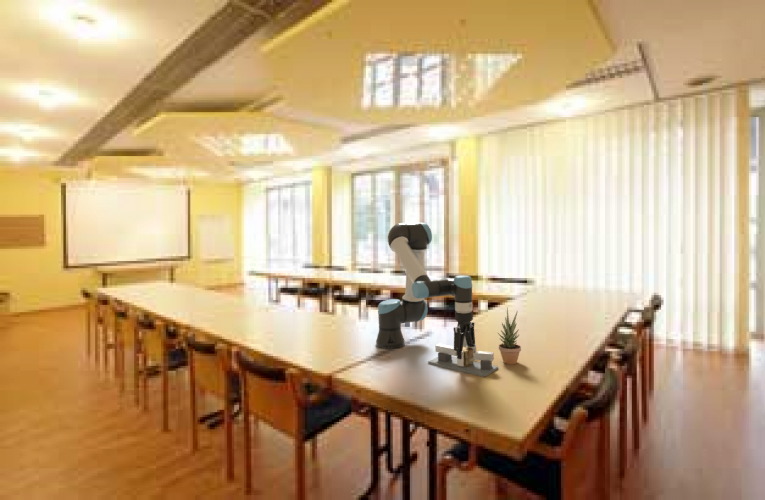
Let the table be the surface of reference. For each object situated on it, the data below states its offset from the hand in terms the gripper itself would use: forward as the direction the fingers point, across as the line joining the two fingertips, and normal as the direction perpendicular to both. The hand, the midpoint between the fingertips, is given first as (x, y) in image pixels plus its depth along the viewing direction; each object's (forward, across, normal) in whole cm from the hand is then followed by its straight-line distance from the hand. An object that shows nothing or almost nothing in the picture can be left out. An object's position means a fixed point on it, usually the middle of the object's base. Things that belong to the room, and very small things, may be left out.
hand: (465, 363), depth 179 cm
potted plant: (+2, +17, -12) cm, 21 cm away
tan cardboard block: (0, 0, 0) cm, 1 cm away
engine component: (+2, +20, +12) cm, 23 cm away
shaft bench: (+1, 0, +2) cm, 2 cm away
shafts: (-3, +1, +1) cm, 3 cm away
